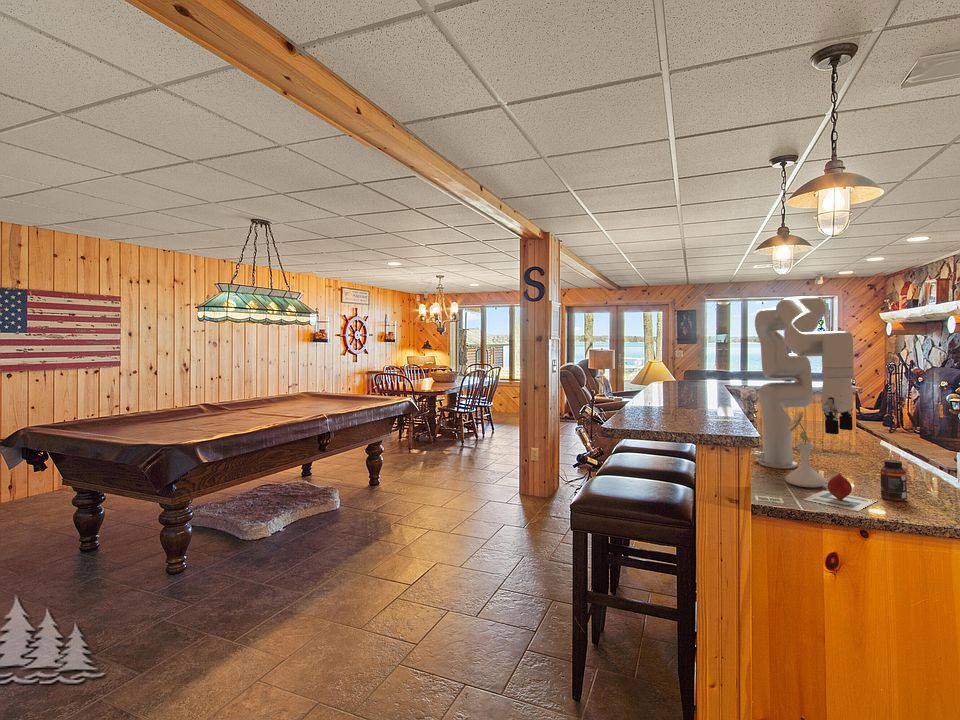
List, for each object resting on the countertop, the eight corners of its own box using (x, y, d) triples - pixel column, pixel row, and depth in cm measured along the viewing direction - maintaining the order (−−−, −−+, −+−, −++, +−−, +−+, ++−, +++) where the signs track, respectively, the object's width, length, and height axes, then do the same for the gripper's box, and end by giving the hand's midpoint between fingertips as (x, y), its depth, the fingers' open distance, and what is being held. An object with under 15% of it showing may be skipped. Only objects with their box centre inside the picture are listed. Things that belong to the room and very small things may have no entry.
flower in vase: (790, 479, 172) (788, 406, 171) (830, 484, 164) (828, 408, 163) (779, 487, 163) (777, 411, 162) (821, 493, 154) (819, 413, 154)
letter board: (802, 499, 149) (802, 499, 149) (823, 491, 157) (823, 490, 157) (858, 511, 138) (858, 510, 138) (877, 501, 145) (877, 500, 145)
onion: (823, 497, 150) (822, 471, 150) (840, 496, 150) (840, 469, 150) (838, 503, 144) (837, 475, 144) (857, 502, 145) (856, 474, 144)
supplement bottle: (912, 502, 144) (911, 463, 143) (888, 501, 145) (887, 463, 145) (899, 496, 149) (898, 458, 149) (876, 495, 151) (875, 458, 150)
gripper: (835, 371, 155) (837, 426, 155) (810, 375, 145) (811, 433, 145) (864, 372, 148) (866, 429, 149) (840, 375, 139) (841, 437, 139)
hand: (839, 431), depth 147 cm, fingers open, 9 cm apart
